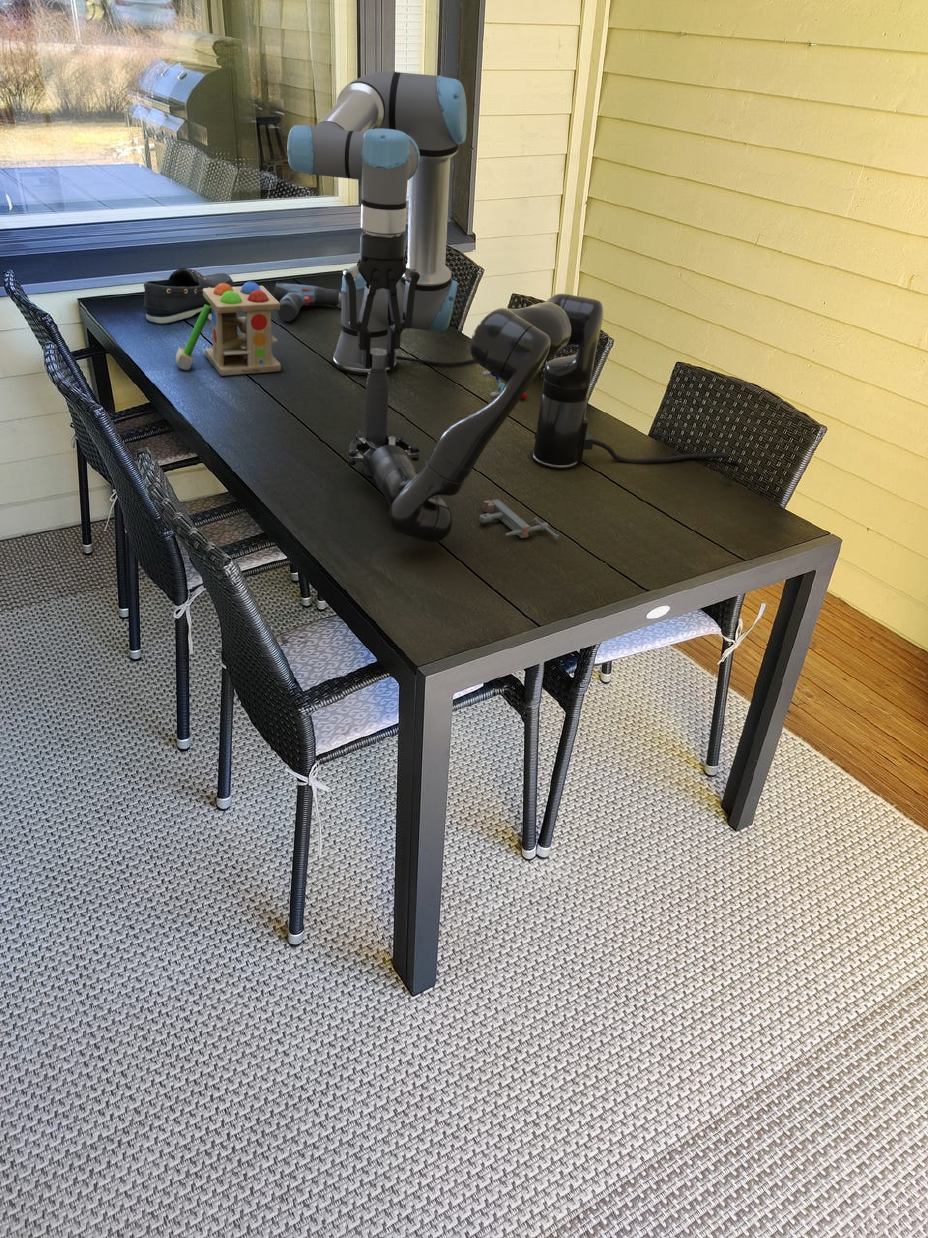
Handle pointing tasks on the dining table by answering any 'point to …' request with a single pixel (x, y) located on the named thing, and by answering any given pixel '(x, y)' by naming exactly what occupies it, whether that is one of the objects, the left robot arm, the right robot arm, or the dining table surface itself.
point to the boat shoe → (179, 295)
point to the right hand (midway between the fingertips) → (371, 434)
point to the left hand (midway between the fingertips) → (378, 365)
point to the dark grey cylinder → (376, 408)
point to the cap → (379, 358)
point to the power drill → (302, 298)
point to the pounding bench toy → (229, 347)
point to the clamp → (511, 519)
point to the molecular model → (500, 386)
